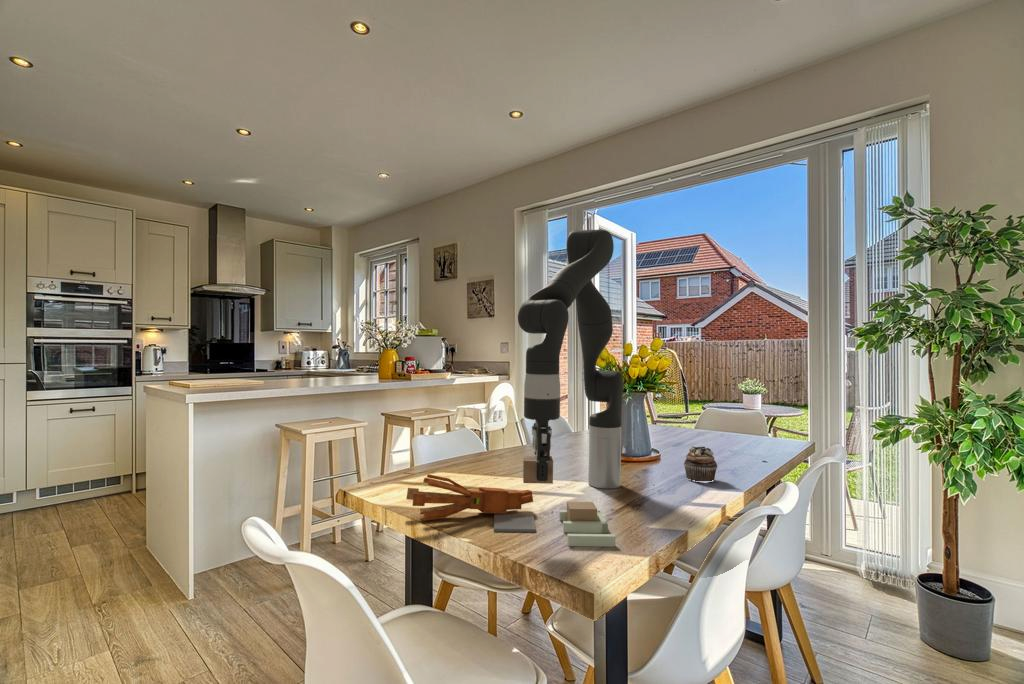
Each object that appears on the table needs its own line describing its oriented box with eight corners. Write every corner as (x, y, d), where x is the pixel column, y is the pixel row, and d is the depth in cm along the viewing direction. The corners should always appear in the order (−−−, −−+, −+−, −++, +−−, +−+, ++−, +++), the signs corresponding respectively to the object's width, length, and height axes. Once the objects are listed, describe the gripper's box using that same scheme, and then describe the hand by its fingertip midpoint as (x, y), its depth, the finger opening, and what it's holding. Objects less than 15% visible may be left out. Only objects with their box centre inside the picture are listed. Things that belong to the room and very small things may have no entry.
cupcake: (677, 476, 154) (677, 444, 154) (703, 475, 157) (704, 443, 157) (696, 485, 145) (696, 451, 145) (724, 483, 147) (724, 449, 148)
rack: (559, 518, 114) (559, 499, 114) (600, 519, 114) (600, 499, 114) (567, 545, 98) (568, 523, 98) (615, 546, 98) (615, 523, 98)
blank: (523, 476, 105) (523, 455, 105) (551, 477, 105) (551, 456, 105) (523, 483, 100) (523, 460, 100) (552, 483, 100) (553, 461, 100)
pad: (494, 517, 114) (494, 514, 114) (533, 517, 114) (533, 514, 114) (493, 531, 105) (493, 528, 105) (535, 532, 105) (535, 529, 105)
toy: (399, 502, 115) (513, 498, 129) (409, 533, 106) (531, 525, 119) (406, 465, 113) (521, 465, 126) (417, 493, 103) (541, 490, 117)
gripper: (564, 399, 96) (563, 487, 95) (556, 392, 110) (555, 468, 110) (525, 399, 95) (524, 486, 95) (522, 391, 110) (521, 468, 110)
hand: (540, 476), depth 103 cm, fingers closed on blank, 5 cm apart
